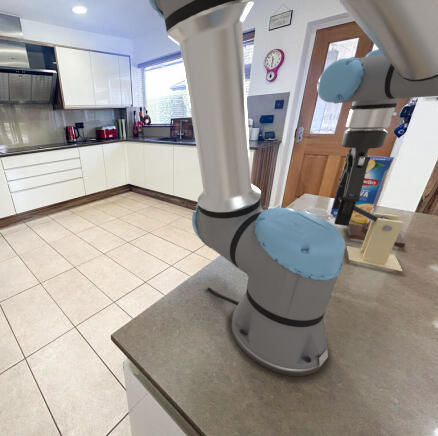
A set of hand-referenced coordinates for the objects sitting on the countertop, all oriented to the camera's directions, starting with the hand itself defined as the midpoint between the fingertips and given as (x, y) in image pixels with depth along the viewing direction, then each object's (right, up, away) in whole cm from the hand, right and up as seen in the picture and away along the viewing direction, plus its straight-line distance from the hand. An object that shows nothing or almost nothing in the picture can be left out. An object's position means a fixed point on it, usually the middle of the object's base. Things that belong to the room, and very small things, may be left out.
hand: (339, 216), depth 63 cm
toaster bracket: (+8, -12, 0) cm, 15 cm away
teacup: (+8, -3, +22) cm, 23 cm away
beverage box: (+24, 0, +25) cm, 35 cm away
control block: (+18, -7, +10) cm, 22 cm away
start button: (+18, -4, +8) cm, 20 cm away
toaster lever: (+4, 0, -2) cm, 4 cm away
